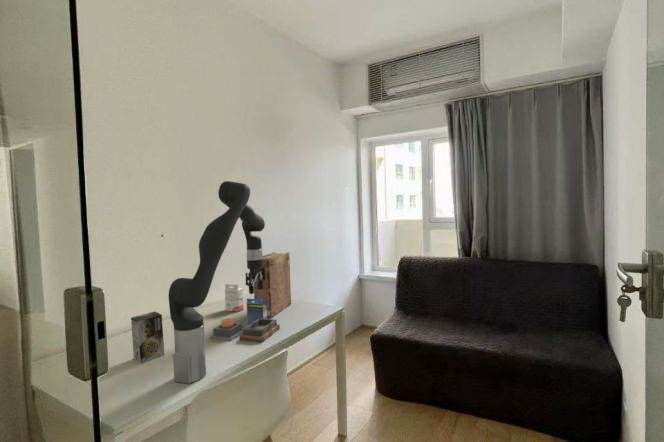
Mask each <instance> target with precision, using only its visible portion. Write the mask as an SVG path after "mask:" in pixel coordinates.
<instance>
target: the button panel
mask: <svg viewBox="0 0 664 442" xmlns="http://www.w3.org/2000/svg"><path fill="white" fill-rule="evenodd" d="M212 333H213V334H210V335H209V339H212V340H213V339H214V340H224V341H233V340H235V339H236V338H238V337H240V335H241V334H242V333H243V323H241V322H234V326H233V327H232V328H230V329H227V328H222V325H221V324H218V325H217V326H215V327H213V328H212Z"/></svg>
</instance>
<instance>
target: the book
mask: <svg viewBox="0 0 664 442" xmlns="http://www.w3.org/2000/svg"><path fill="white" fill-rule="evenodd" d="M290 261H291V260H290V252H285V253H276V251H274V252H270V253H267V254H265V255H263V267H262V268H264V270H265V280H263V289H262V290H260V289H258V282H259V281H258V280H256V282H254V294H253V295H254V296H253V299H260V300H263V305H266V312H267V319H273V318H274V317H276V315H278V314H279V313H281V312H283V311H284V310H285V309H287V308H288V307H289V306H291V305H292V292H291V291H292V289H291V267H290V266H291V265H290ZM262 276H263V275H262ZM254 303H257V302H255V301H254Z"/></svg>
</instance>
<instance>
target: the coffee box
mask: <svg viewBox="0 0 664 442" xmlns="http://www.w3.org/2000/svg"><path fill="white" fill-rule="evenodd" d="M130 321H131V336H132V352H133V360H135V361H137V362H138V363H140V364H141V363H144V362H147V361H150V360H152V359H156V358H158V357H161V356H163V355H165V344H164V327H163V315H162V314H161V313H159V312H157V311H152V312H148V313H144V314H140V315H136V316H132V317H131V318H130Z"/></svg>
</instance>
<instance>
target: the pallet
mask: <svg viewBox="0 0 664 442" xmlns="http://www.w3.org/2000/svg"><path fill="white" fill-rule="evenodd" d="M277 321H278V320H277V319H273V318H267V319H261V318H259V319H257V320H256V321H254V322H253V323H251V324H250V323H249V324H248V325H247V326H245V327H242V329H243V333H242V334H241V335H239V340H240V341H248V342H256V343H257V342H259V343H264V342H266V340H268V339H269V338H270V337H272V335H274V334H275V333H277V331H279V330H280V329H281V326H280V324H278V323H277Z"/></svg>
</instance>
